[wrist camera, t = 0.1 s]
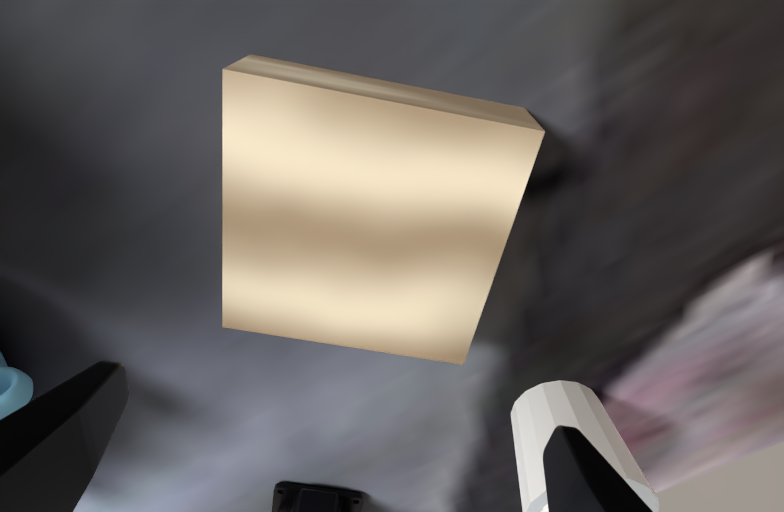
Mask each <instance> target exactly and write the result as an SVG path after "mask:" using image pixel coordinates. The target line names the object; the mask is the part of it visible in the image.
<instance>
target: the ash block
mask: <svg viewBox="0 0 784 512" xmlns="http://www.w3.org/2000/svg"><path fill="white" fill-rule="evenodd" d="M544 133H545V131H544V130H543V128H542V127H541V126H540V125H539V124H538V123H537V122H536V120H535V119H534V118H533V117H532V116H531V115H530V114H529V112H528V111H527V110H526V109H525V108H522V107H517V106H512V105H507V104H501V103H496V102H491V101H486V100H481V99H476V98H471V97H466V96H461V95H456V94H450V93H445V92H440V91H435V90H430V89H425V88H420V87H415V86H410V85H405V84H400V83H394V82H389V81H384V80H379V79H374V78H369V77H364V76H359V75H354V74H349V73H343V72H338V71H333V70H328V69H323V68H318V67H313V66H308V65H303V64H298V63H293V62H287V61H282V60H277V59H272V58H267V57H262V56H257V55H252V54H250V55H249V56H247V57H245V58H243V59H241V60H239V61H237V62H235V63H233V64H231V65H229V66H228V67H226V68H224V69H223V267H222V327H225V328H231V329H238V330H244V331H251V332H257V333H263V334H270V335H276V336H283V337H289V338H295V339H302V340H308V341H315V342H321V343H328V344H334V345H340V346H347V347H353V348H360V349H366V350H372V351H379V352H385V353H392V354H398V355H405V356H411V357H417V358H424V359H430V360H437V361H443V362H449V363H456V364H462V365H464V362H465V359H466V356H467V353H468V350H469V347H470V345H471V342H472V339H473V336H474V333H475V330H476V327H477V325H478V322H479V319H480V316H481V313H482V310H483V307H484V305H485V302H486V299H487V296H488V293H489V290H490V287H491V285H492V282H493V279H494V276H495V273H496V270H497V267H498V265H499V262H500V259H501V256H502V253H503V250H504V248H505V245H506V242H507V239H508V236H509V233H510V230H511V228H512V225H513V222H514V219H515V216H516V213H517V210H518V208H519V205H520V202H521V199H522V196H523V193H524V190H525V188H526V185H527V182H528V179H529V176H530V173H531V170H532V168H533V165H534V162H535V159H536V156H537V153H538V150H539V148H540V145H541V142H542V139H543V136H544Z"/></svg>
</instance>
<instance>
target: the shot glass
mask: <svg viewBox="0 0 784 512" xmlns="http://www.w3.org/2000/svg"><path fill="white" fill-rule="evenodd" d="M511 420H512V428H513V436H514V445H515V453H516V461H517V469H518V477H519V485H520V493H521V501H522V509H523V512H549V509H548V501H547V492H546V484H545V475H544V466H543V452H544V448H545V446H546V444H547V442H548V441H549V439H550V437H551V435H552V433H553V431H554V429H555V428H556V427H557V426H558V425H563V426H570V427H575V428H577V429H578V430H580V431H581V432H582V434H583V435H584V436H585V437H586V438H587V439H588V440H589V441H590V442H591V443H592V445H593V446H594V447H595V448H596V449H597V450H598V451H599V452H600V453H601V455H602V456H603V457H604V458H605V459H606V460H607V461H608V462H609V463H610V465H611V466H612V467H613V468H614V469H615V470H616V471H617V472H618V473H619V474H620V476H621V477H622V478H623V479H624V480H625V481H626V482H627V483H628V484H629V486H630V487H631V488H632V489H633V490H634V491H635V492H636V493H637V494H638V496H639V497H640V498H641V499H642V500H643V501H644V502H645V503H646V504H647V506H648V507H649V508H650V509H651V510H652V511H653V512H659V500H658V498H657V496H656V495H655V493H654V491H653V490H652V488H651V486H650V485H649V483H648V481H647V479H646V478H645V476H644V474H643V473H642V471H641V469H640V468H639V466H638V464H637V463H636V461H635V459H634V457H633V456H632V454H631V452H630V451H629V449H628V447H627V446H626V444H625V442H624V441H623V439H622V437H621V436H620V434H619V432H618V430H617V429H616V427H615V425H614V424H613V422H612V420H611V419H610V417H609V415H608V414H607V412H606V410H605V409H604V407H603V405H602V403H601V402H600V400H599V399H598V397H597V396H596V395H595V393H594V392H593V391H592V390H591V389H590V388H588V387H586V386H584V385H582V384H580V383H578V382H570V381H561V380H559V381H553V382H547V383H541V384H539V385H537V386H535V387H533V388H531V389H529V390H527V391H525V392H524V393H523V394H522V395H521V396H520V397H519V398H518V399H517V400H516V401H515V403H514V406H513V409H512V411H511Z"/></svg>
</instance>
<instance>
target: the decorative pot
mask: <svg viewBox="0 0 784 512" xmlns="http://www.w3.org/2000/svg"><path fill="white" fill-rule="evenodd" d="M32 395H33V381H32V379H31V378H30V377H29V376H28V375H27V374H26V373H24V372H22V371H21V370H19V369H16V368H13V367H8V366H7V364H6V361H5V359H4V357H3V355H2V353H1V352H0V420H1V419H2V418H4V417H6V416H7V415H9V414H11V413H13V412H14V411H16V410H18V409H19V408H21V407H23V406H24V405H26V404H27V403H28V402H29V401H30V399H31V398H32Z"/></svg>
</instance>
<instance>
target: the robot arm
mask: <svg viewBox="0 0 784 512" xmlns="http://www.w3.org/2000/svg"><path fill="white" fill-rule="evenodd" d="M128 395H129V390H128V383H127V376H126V370H125V366H124V365H123V364H122V363H118V362H111V361H100V362H98V363H96V364H94V365H92V366H91V367H89V368H87V369H86V370H84V371H82V372H81V373H79V374H77V375H75V376H74V377H72V378H70V379H69V380H67V381H65V382H64V383H62V384H60V385H58V386H57V387H55V388H53V389H52V390H50V391H48V392H47V393H45V394H43V395H41V396H40V397H38V398H36V399H35V400H33V401H31V402H30V403H28V404H26V405H24V406H23V407H21V408H19V409H18V410H16V411H14V412H13V413H11V414H9V415H7V416H6V417H4V418H2V419H1V420H0V512H73V510H74V508H75V507H76V505H77V503H78V502H79V500H80V498H81V496H82V495H83V493H84V491H85V490H86V488H87V486H88V484H89V483H90V481H91V479H92V477H93V475H94V473H95V471H96V469H97V467H98V465H99V463H100V461H101V458H102V456H103V454H104V452H105V450H106V447H107V445H108V443H109V441H110V439H111V436H112V434H113V432H114V430H115V428H116V425H117V423H118V421H119V419H120V416H121V414H122V412H123V410H124V408H125V405H126V403H127V400H128ZM543 466H544V475H545V484H546V492H547V501H548V509H549V512H653V511H652V510H651V509H650V508H649V507H648V506H647V504H646V503H645V502H644V501H643V500H642V499H641V498H640V497H639V496H638V494H637V493H636V492H635V491H634V490H633V489H632V488H631V487H630V486H629V484H628V483H627V482H626V481H625V480H624V479H623V478H622V477H621V476H620V474H619V473H618V472H617V471H616V470H615V469H614V468H613V467H612V466H611V465H610V463H609V462H608V461H607V460H606V459H605V458H604V457H603V456H602V455H601V453H600V452H599V451H598V450H597V449H596V448H595V447H594V446H593V445H592V443H591V442H590V441H589V440H588V439H587V438H586V437H585V436H584V435H583V434H582V432H581V431H580V430H578V429H577V428H575V427H570V426H563V425H558V426H557V427H556V428H555V429H554V431H553V433H552V435H551V437H550V439H549V441H548V442H547V444H546V446H545V448H544V452H543ZM362 503H363V495H362V494H360V493H357V492H349V491H342V490H334V489H327V488H319V487H312V486H304V485H297V484H289V483H277V484H276V485H275V489H274V495H273V506H272V512H360V511H361V507H362Z"/></svg>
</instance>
